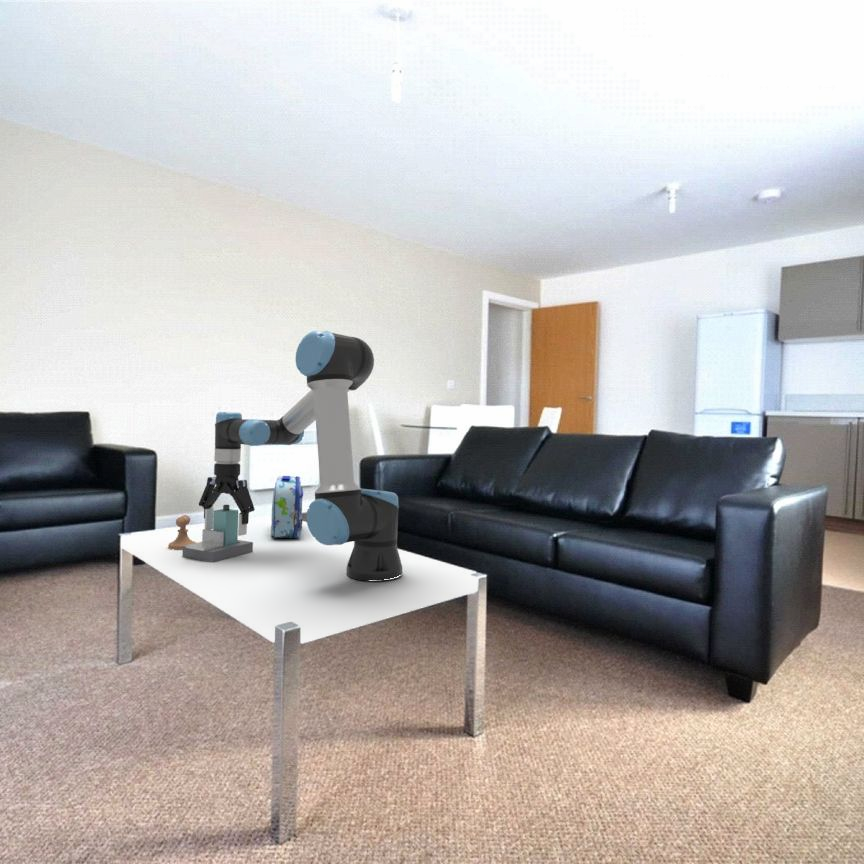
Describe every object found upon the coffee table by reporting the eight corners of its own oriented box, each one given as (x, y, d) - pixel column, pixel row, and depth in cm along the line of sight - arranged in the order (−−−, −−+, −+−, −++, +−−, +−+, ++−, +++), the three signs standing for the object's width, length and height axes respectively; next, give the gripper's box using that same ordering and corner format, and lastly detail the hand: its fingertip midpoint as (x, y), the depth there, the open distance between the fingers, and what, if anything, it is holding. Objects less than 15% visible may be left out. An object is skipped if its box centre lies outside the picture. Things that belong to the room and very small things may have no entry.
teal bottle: (237, 552, 178) (238, 504, 178) (224, 555, 174) (226, 506, 174) (224, 550, 180) (226, 503, 180) (212, 553, 176) (213, 505, 176)
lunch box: (302, 541, 198) (304, 479, 197) (269, 541, 195) (271, 479, 195) (300, 527, 223) (302, 472, 223) (271, 527, 220) (273, 472, 220)
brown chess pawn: (199, 514, 187) (193, 518, 179) (199, 544, 187) (192, 550, 179) (173, 513, 186) (165, 518, 178) (173, 544, 186) (164, 549, 178)
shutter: (223, 546, 172) (223, 531, 172) (204, 551, 165) (204, 535, 165) (205, 543, 175) (205, 528, 175) (185, 547, 168) (186, 532, 168)
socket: (252, 551, 180) (252, 542, 179) (212, 562, 165) (213, 551, 165) (223, 546, 185) (223, 537, 185) (182, 556, 170) (182, 546, 170)
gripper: (268, 464, 175) (265, 535, 175) (206, 459, 185) (204, 525, 186) (250, 466, 168) (247, 539, 168) (187, 460, 179) (185, 529, 179)
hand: (225, 532), depth 177 cm, fingers open, 13 cm apart
